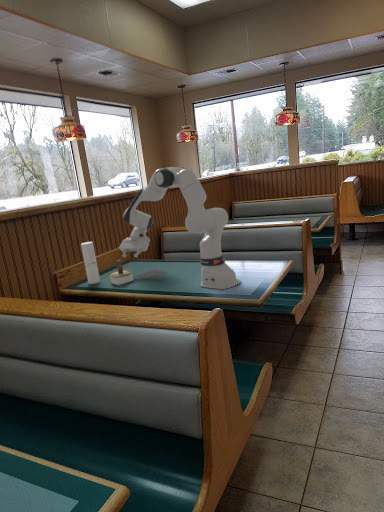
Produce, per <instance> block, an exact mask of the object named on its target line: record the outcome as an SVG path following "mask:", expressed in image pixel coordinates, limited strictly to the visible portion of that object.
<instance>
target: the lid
mask: <svg viewBox="0 0 384 512" xmlns="http://www.w3.org/2000/svg"><path fill="white" fill-rule="evenodd" d="M115 261H116V262H115V263H116V267H117V271H115V272H113V273H112V272H111V274H110V276H111V277H112V278H121V277H125V276H128V275H130V274H132V271H131V270H128V269H127V270H124V268H123V264H122V263H123V262H122V259H117V260H115Z"/></svg>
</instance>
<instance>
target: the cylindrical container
mask: <svg viewBox="0 0 384 512" xmlns="http://www.w3.org/2000/svg"><path fill="white" fill-rule="evenodd" d="M80 246H81V252H82V257H83V261H84V267H85V272H86V276H87V277H86V278H87V282H88V283H87V284H89V285H93V284H94V285H95V284H99V283H100V282H101V279H100V273H99V268H98V263H97V262H98V261H97V257H96V251H95V246H94V242H93V241H86V242H81V243H80Z"/></svg>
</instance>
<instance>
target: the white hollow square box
mask: <svg viewBox="0 0 384 512" xmlns="http://www.w3.org/2000/svg"><path fill="white" fill-rule="evenodd" d="M109 279H110V283H111V284H112V285H115V286H122V285H124V284H127V283H130V282H133V281H134V275H133V273H131V274H130V275H128V276H125V277H121V278H112V277H111V275H110V276H109Z"/></svg>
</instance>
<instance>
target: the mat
mask: <svg viewBox="0 0 384 512" xmlns="http://www.w3.org/2000/svg"><path fill="white" fill-rule="evenodd" d="M166 274H169V272H167V271H164V270H163V271H162V270H159V269H151V270H149V271H146V272H142V273H139V274H135V275H134V277H135V278H138V279H143V280H146V281H148V280H151V279H153V278H157V277H160V276H164V275H166Z"/></svg>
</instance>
